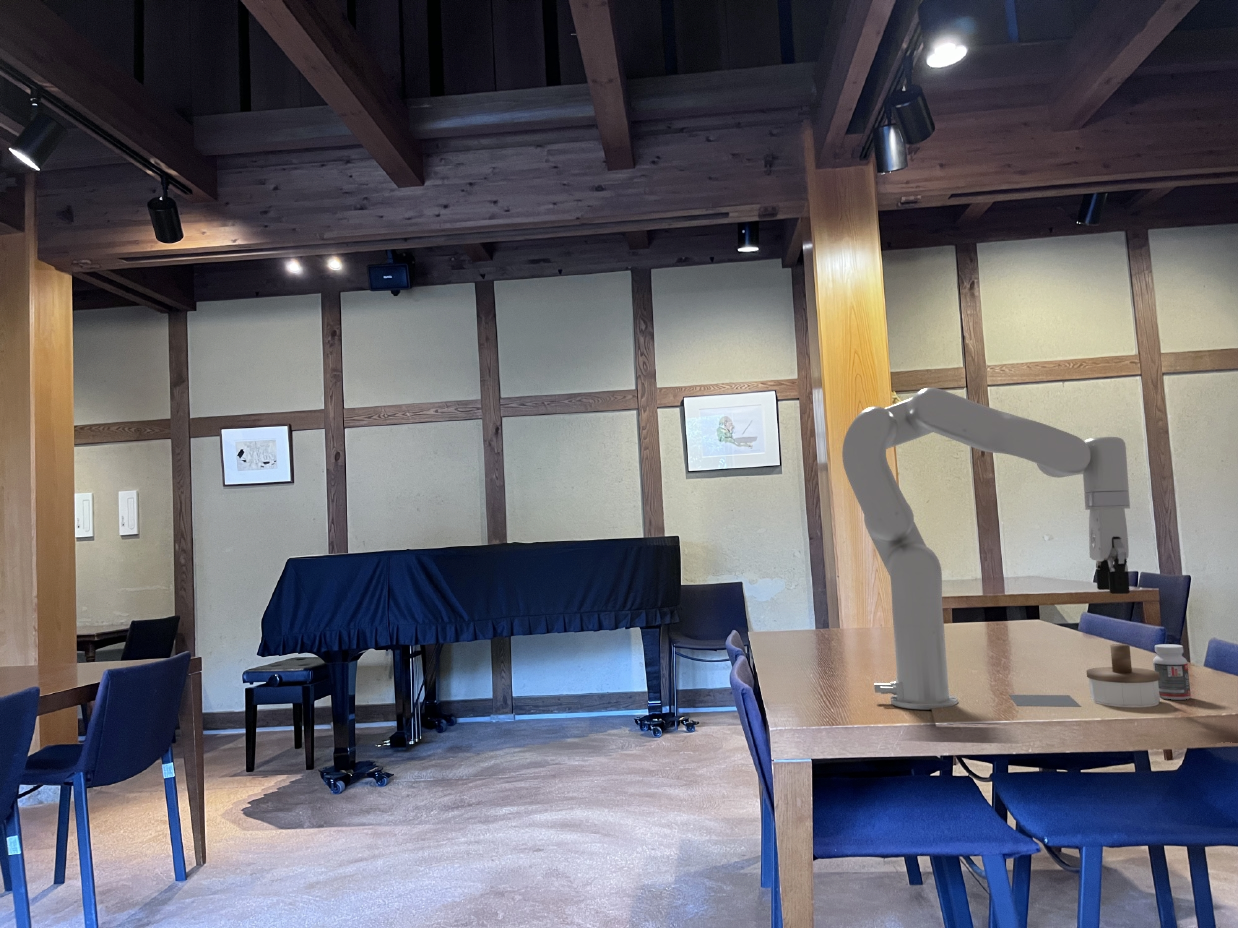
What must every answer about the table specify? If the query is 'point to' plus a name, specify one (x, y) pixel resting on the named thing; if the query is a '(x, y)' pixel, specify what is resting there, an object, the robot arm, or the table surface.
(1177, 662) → the pill bottle
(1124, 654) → the lid
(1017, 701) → the mat
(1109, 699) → the bowl
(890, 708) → the table surface
